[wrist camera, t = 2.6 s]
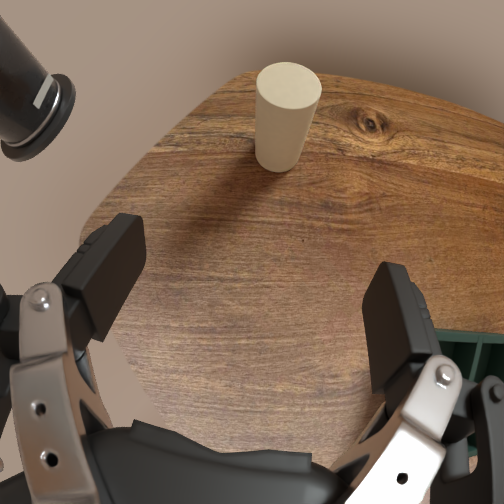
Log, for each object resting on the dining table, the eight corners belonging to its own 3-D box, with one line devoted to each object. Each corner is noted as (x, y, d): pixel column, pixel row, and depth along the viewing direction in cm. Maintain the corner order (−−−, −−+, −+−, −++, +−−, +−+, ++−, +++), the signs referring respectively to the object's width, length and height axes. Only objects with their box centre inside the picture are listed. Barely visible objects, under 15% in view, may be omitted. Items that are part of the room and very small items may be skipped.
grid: (369, 453, 22) (384, 473, 18) (405, 325, 24) (429, 330, 20) (463, 441, 22) (481, 453, 18) (494, 332, 23) (518, 336, 19)
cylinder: (251, 168, 25) (250, 103, 15) (259, 130, 26) (261, 57, 16) (296, 176, 25) (319, 115, 15) (301, 138, 26) (323, 68, 16)
